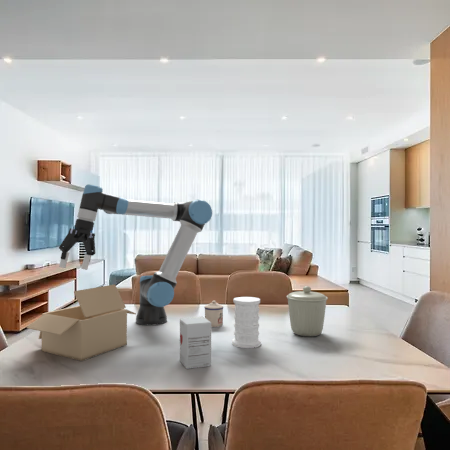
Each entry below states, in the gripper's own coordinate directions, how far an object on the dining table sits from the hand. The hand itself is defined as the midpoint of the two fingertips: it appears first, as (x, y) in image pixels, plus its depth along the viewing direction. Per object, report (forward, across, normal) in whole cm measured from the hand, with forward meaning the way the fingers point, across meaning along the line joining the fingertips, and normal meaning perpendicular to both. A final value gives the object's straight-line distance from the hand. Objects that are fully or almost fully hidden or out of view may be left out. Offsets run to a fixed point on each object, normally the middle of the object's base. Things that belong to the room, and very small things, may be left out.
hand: (73, 268), depth 163 cm
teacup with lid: (+14, -45, +52) cm, 70 cm away
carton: (+28, +6, +18) cm, 33 cm away
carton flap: (+12, +10, +29) cm, 33 cm away
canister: (+8, -44, +96) cm, 106 cm away
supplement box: (+20, +7, +66) cm, 69 cm away
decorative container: (+14, -20, +76) cm, 80 cm away
